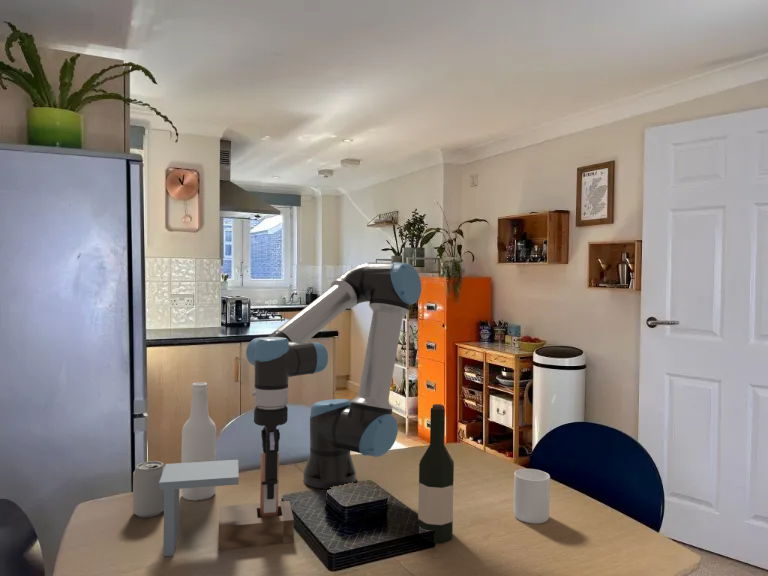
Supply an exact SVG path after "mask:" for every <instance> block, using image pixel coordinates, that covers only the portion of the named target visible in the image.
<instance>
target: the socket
mask: <svg viewBox="0 0 768 576" xmlns="http://www.w3.org/2000/svg"><path fill="white" fill-rule="evenodd" d="M294 520H295V519H294V514H293V510H292V507H291V502H290V501H289V500H282V501H278V516H274V517H263V518H260V502H258V503H257V502H256V503H248V504H245V503H244V504H235V505H234V504H233V505H224V506H223V505H222V506H219V518H218V545H217V546H218V547H217V548H218V549H217V551H221V550H229V549H230V550H231V549H240V548H251V547H252V548H253V547H262V546H271V545H281V544H290V543H294V539H295V538H294V535H295V528H294V527H295V521H294Z"/></svg>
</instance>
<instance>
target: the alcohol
mask: <svg viewBox="0 0 768 576" xmlns="http://www.w3.org/2000/svg"><path fill="white" fill-rule="evenodd" d="M208 389H209V388H208V382H205V381H204V382H203V381H198V382H193V383H191V391H192V392H191V404H190V413H189V417H188V419H187V420H186V421H185V423H184V424H183V426H182V430H181V462H180V463H190V462H206V461H217V426H216V423H215V421H214V420H213V419H212V418H211V417H210V414H209V400H208V397H209V396H208ZM216 488H217V486H211V487H197V488H183V489H180V495H181V497H182V498H183V499H184V500H186V501H189V500H193V501H192V502H198V501H199V500H200V501H204V499H205V500H208V499H211V498H212V497H213V496H214V494H215V493H216V491H217V490H216ZM197 500H198V501H197ZM200 501H199V502H200Z"/></svg>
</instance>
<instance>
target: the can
mask: <svg viewBox="0 0 768 576" xmlns="http://www.w3.org/2000/svg"><path fill="white" fill-rule="evenodd" d="M135 468H136V469H134V471H133V473H132V513H133V514H134V515H136V516H137V517H139V518H144V519H145V518H152V517H156V516H159V515H161V514H162V513H163V512H164V490H159V481H160V479H161V476H162V473H163V470H164V468H165V466H164V463H163V462H162V461H159V460H151V461H149V460H148V461H145V462H140V463H138V464H137V465H136V466H135Z"/></svg>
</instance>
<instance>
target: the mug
mask: <svg viewBox="0 0 768 576" xmlns="http://www.w3.org/2000/svg"><path fill="white" fill-rule="evenodd" d="M513 474H514V477H513V478H514V479H513V480H514V481H513V515H514V517H515V518H516V519H517V520H519V521H521V522H524V523H527V524H535V525H537V524H538V525H539V524H543V523H547V521H548V520H549V518H550V502H551V501H550V500H551V499H550V497H551V496H550V491H551V476H550V475H551V474H549V473H548V472H545V471H543V470H540V469H535V468H520V469H518V470H517V469H516V470H515V471H514V473H513Z"/></svg>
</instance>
